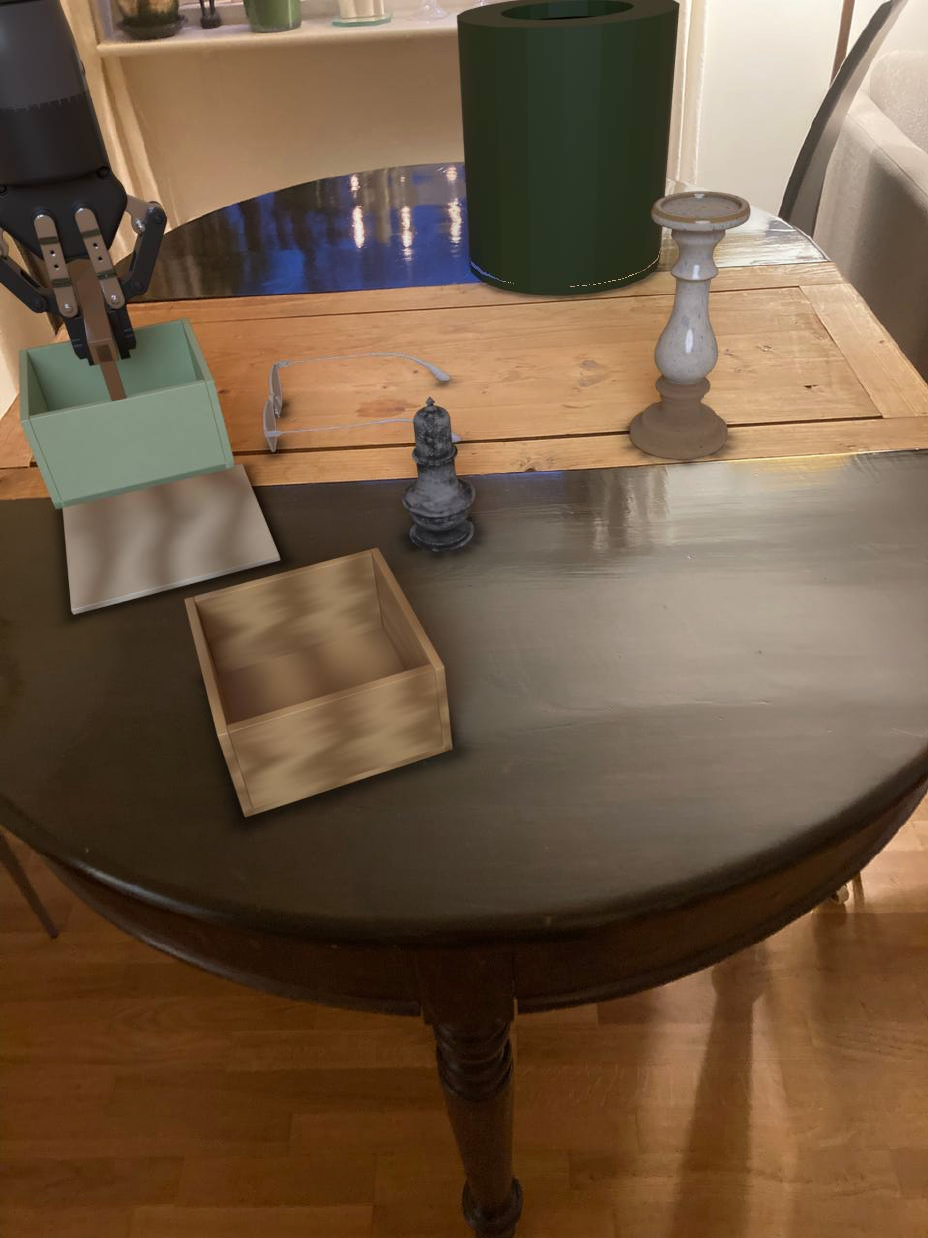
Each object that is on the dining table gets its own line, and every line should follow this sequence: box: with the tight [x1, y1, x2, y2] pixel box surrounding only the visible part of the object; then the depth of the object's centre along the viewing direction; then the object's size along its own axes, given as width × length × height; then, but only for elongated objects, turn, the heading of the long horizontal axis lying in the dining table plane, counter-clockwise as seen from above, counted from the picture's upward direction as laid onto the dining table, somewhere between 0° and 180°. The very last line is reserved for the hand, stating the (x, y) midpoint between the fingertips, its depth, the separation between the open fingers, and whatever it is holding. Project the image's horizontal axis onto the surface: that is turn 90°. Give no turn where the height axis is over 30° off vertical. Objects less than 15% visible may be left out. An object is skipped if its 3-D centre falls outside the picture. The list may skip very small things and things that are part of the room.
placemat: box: [62, 463, 281, 615], centre depth 77 cm, size 16×16×1 cm
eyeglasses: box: [262, 352, 463, 453], centre depth 90 cm, size 15×18×4 cm
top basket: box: [18, 276, 236, 510], centre depth 68 cm, size 13×13×11 cm
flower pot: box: [456, 0, 681, 296], centre depth 114 cm, size 25×25×28 cm
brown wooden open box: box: [184, 547, 454, 818], centre depth 58 cm, size 13×13×7 cm
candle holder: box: [629, 190, 752, 460], centre depth 78 cm, size 9×9×20 cm
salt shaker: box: [401, 396, 477, 552], centre depth 71 cm, size 6×6×12 cm
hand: (110, 357), depth 67 cm, fingers closed on top basket
